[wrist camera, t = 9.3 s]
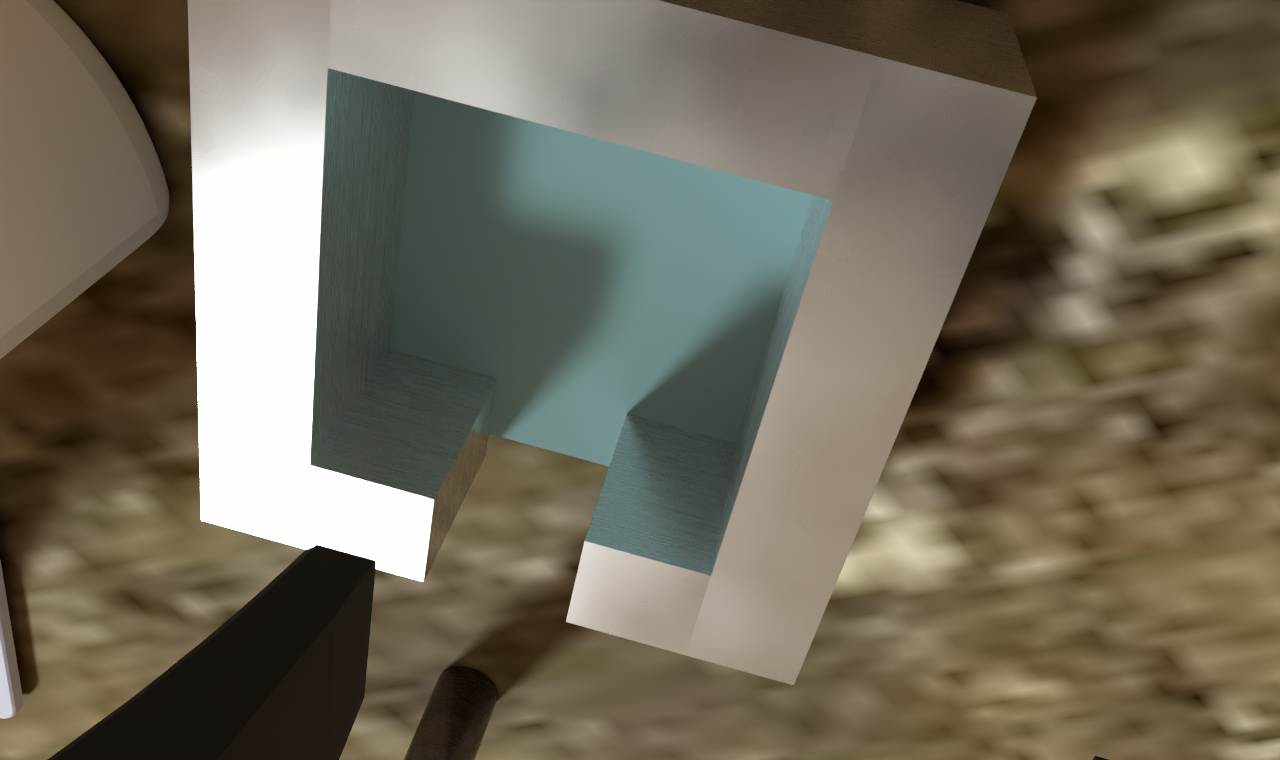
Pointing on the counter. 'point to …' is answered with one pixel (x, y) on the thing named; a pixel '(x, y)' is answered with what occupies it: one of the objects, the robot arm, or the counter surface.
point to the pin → (454, 717)
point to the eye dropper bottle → (65, 168)
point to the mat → (586, 277)
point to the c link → (626, 115)
